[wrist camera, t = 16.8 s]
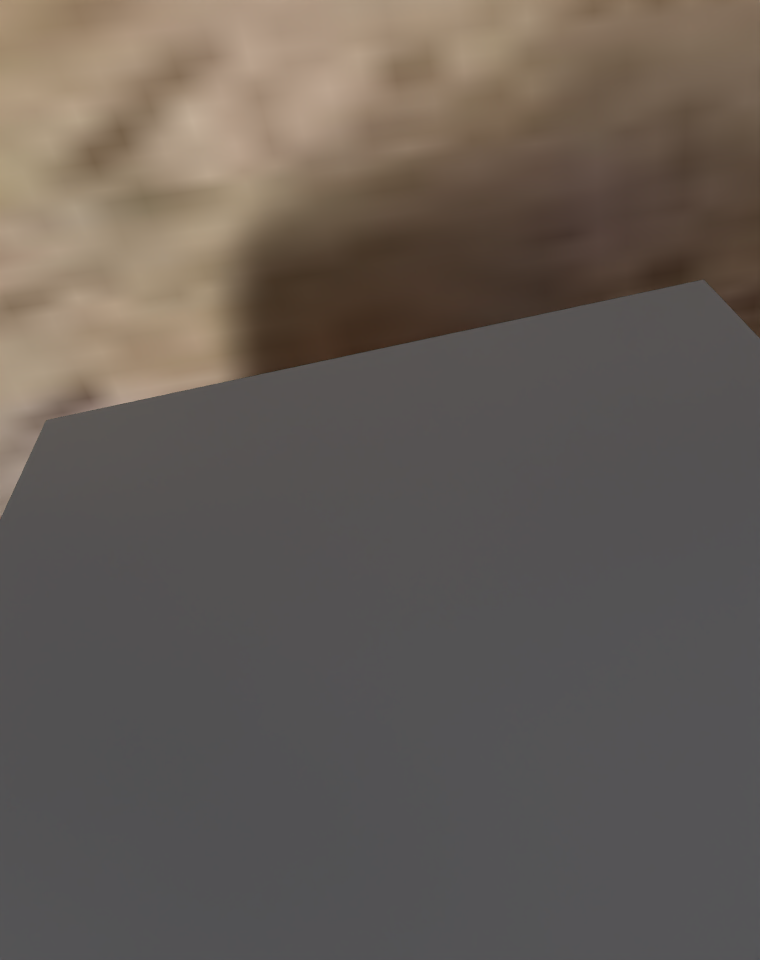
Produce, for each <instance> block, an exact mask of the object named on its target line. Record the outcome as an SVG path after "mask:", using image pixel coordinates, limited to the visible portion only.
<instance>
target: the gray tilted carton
mask: <svg viewBox="0 0 760 960" xmlns="http://www.w3.org/2000/svg"><path fill="white" fill-rule="evenodd" d="M0 960H760V338H759V337H758V336H757V335H756V334H755V333H754V332H753V331H752V330H751V329H750V328H749V327H748V326H747V325H746V323H745V322H744V321H743V320H742V319H741V318H740V317H739V316H738V315H737V314H736V313H735V312H734V311H733V310H732V309H731V308H730V307H729V306H728V305H727V303H726V302H725V301H724V300H723V299H722V298H721V297H720V296H719V295H718V294H717V293H716V292H715V291H714V290H713V289H712V288H711V287H710V286H709V285H708V283H707V282H706V281H705V280H699V281H695V282H690V283H685V284H680V285H676V286H671V287H666V288H662V289H657V290H652V291H648V292H643V293H638V294H634V295H629V296H624V297H620V298H615V299H610V300H606V301H601V302H596V303H592V304H587V305H582V306H578V307H573V308H568V309H564V310H559V311H554V312H550V313H545V314H540V315H536V316H531V317H526V318H522V319H517V320H512V321H508V322H503V323H498V324H494V325H489V326H484V327H480V328H475V329H470V330H466V331H461V332H456V333H452V334H447V335H442V336H438V337H433V338H428V339H423V340H419V341H414V342H409V343H405V344H400V345H395V346H391V347H386V348H381V349H377V350H372V351H367V352H363V353H358V354H353V355H349V356H344V357H339V358H335V359H330V360H325V361H321V362H316V363H311V364H307V365H302V366H297V367H293V368H288V369H283V370H279V371H274V372H269V373H265V374H260V375H255V376H251V377H246V378H241V379H237V380H232V381H227V382H223V383H218V384H213V385H209V386H204V387H199V388H195V389H190V390H185V391H181V392H176V393H171V394H166V395H162V396H157V397H152V398H148V399H143V400H138V401H134V402H129V403H124V404H120V405H115V406H110V407H106V408H101V409H96V410H92V411H87V412H82V413H78V414H73V415H68V416H64V417H59V418H54V419H50V420H46V422H45V424H44V426H43V428H42V430H41V433H40V435H39V437H38V439H37V441H36V443H35V446H34V448H33V450H32V452H31V454H30V456H29V458H28V461H27V463H26V465H25V467H24V469H23V471H22V474H21V476H20V478H19V480H18V482H17V484H16V487H15V489H14V491H13V493H12V495H11V497H10V500H9V502H8V504H7V506H6V508H5V510H4V513H3V515H2V517H1V519H0Z"/></svg>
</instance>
